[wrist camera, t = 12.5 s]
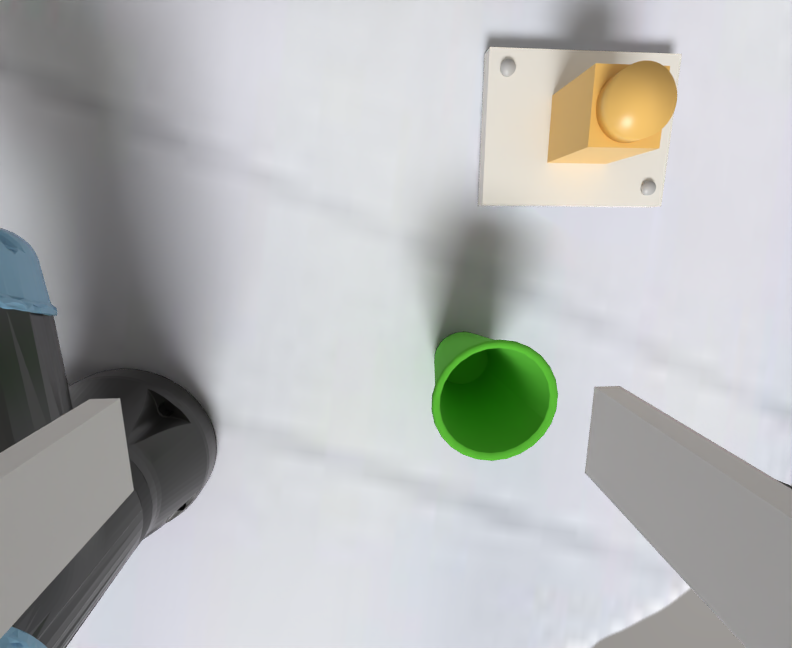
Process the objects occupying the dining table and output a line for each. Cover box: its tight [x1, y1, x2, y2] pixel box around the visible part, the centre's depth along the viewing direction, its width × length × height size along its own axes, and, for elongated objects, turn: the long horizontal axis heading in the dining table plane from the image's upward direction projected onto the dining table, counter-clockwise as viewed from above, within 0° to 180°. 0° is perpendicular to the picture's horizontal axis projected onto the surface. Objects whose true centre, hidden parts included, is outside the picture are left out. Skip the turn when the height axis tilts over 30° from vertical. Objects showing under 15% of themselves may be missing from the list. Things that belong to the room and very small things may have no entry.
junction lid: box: [478, 47, 682, 207], centre depth 33 cm, size 16×12×6 cm
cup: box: [432, 332, 558, 461], centre depth 34 cm, size 9×9×11 cm
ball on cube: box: [547, 60, 677, 164], centre depth 30 cm, size 5×5×8 cm
